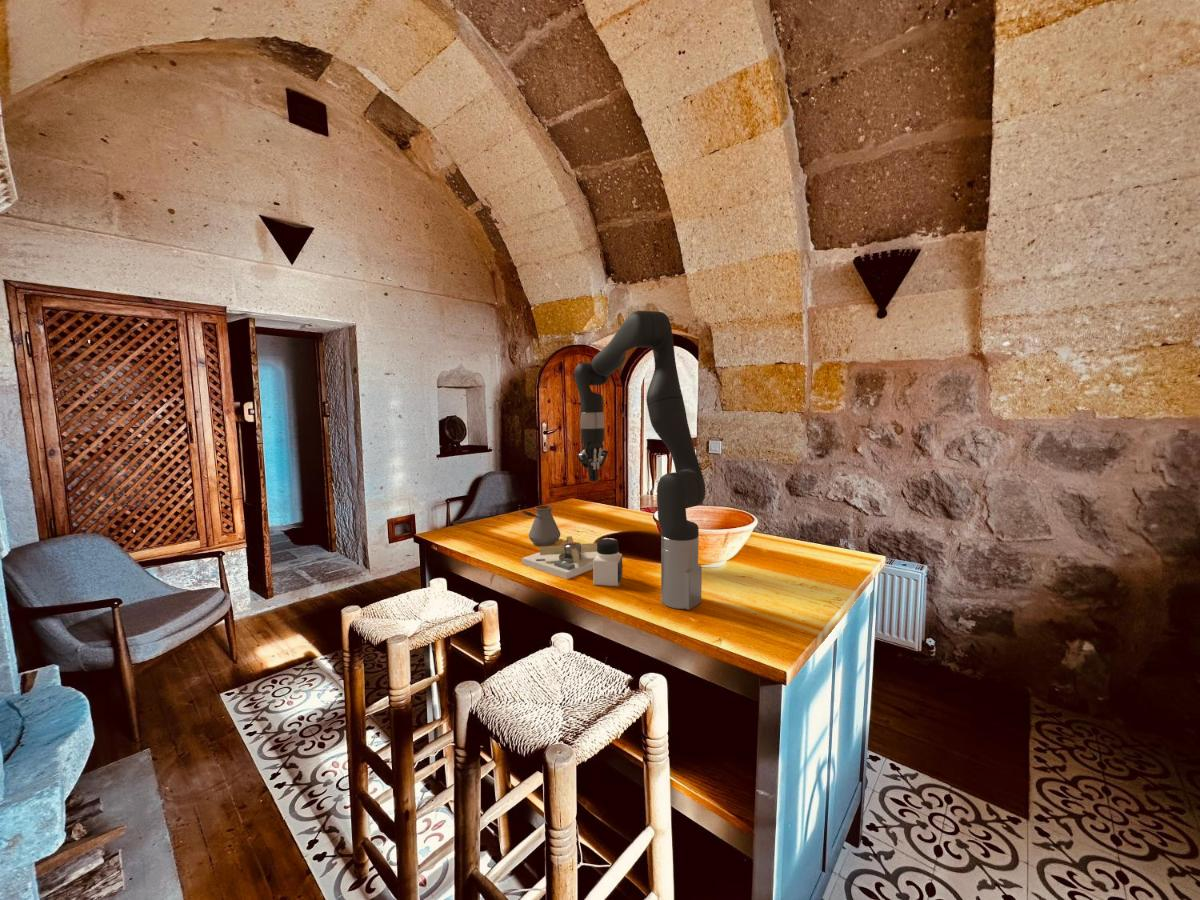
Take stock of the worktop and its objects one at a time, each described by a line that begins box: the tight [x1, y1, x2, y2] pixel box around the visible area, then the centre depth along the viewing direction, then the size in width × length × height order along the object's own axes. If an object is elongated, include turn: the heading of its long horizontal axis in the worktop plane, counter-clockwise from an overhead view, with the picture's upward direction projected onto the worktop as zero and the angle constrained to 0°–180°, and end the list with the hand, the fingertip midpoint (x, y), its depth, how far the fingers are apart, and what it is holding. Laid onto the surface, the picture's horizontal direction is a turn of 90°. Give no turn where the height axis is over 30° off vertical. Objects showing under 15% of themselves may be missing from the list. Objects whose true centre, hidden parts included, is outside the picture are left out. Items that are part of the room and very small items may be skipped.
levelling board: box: [521, 551, 597, 580], centre depth 155 cm, size 20×19×4 cm
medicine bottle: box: [592, 537, 623, 587], centre depth 139 cm, size 7×7×12 cm
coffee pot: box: [518, 505, 561, 547], centre depth 172 cm, size 21×12×15 cm, turn 159°
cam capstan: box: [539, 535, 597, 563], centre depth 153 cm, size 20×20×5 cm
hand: (593, 481), depth 157 cm, fingers closed
